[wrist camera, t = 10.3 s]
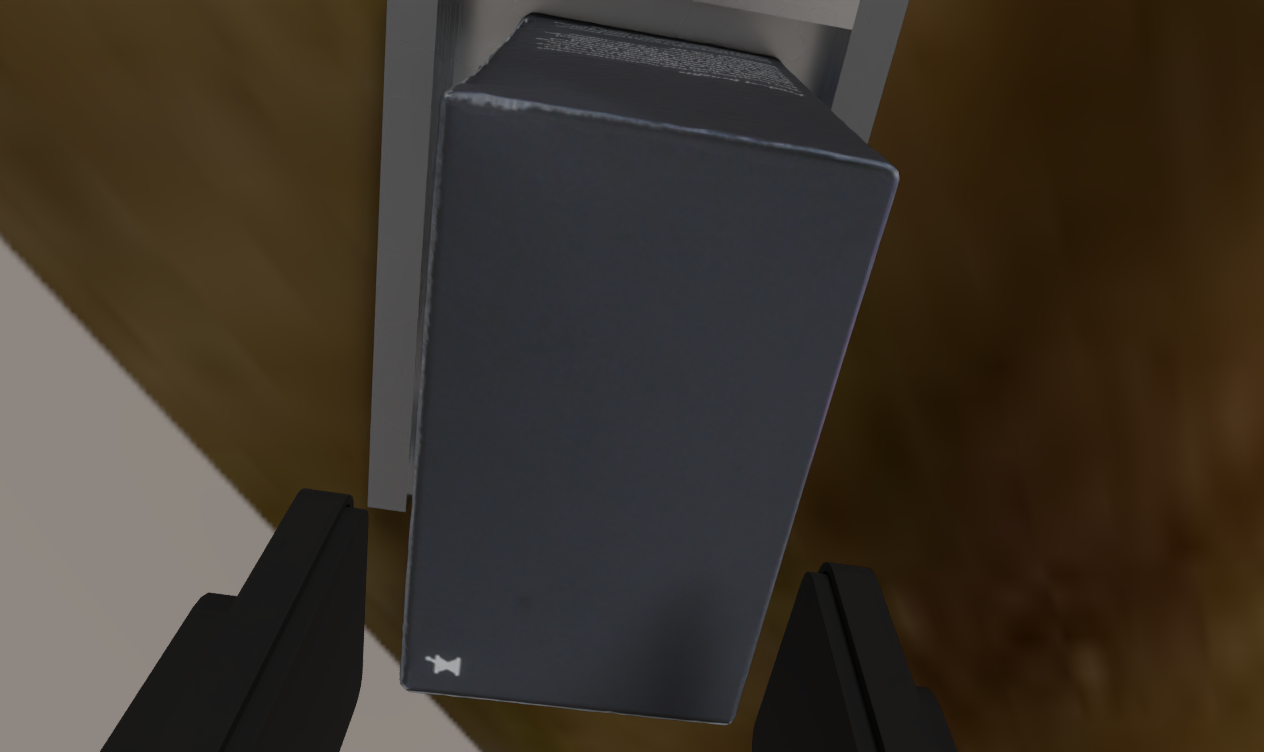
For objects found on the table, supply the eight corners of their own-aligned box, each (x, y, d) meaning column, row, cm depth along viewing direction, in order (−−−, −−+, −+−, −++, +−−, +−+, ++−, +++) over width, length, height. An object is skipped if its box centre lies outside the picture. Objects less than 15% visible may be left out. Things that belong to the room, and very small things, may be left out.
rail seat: (884, -21, 21) (923, -10, 18) (744, 493, 27) (756, 561, 24) (427, -107, 20) (391, -110, 17) (397, 443, 26) (367, 507, 24)
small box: (707, 441, 25) (746, 748, 16) (477, 408, 25) (381, 703, 16) (799, 55, 21) (932, 171, 11) (517, 4, 20) (412, 83, 11)
